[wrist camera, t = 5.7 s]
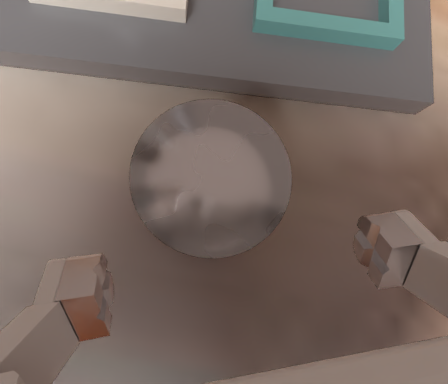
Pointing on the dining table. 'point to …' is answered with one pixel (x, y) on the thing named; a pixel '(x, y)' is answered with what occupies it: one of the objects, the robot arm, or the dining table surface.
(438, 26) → the dining table surface
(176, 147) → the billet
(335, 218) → the dining table surface
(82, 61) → the grey flat plate
